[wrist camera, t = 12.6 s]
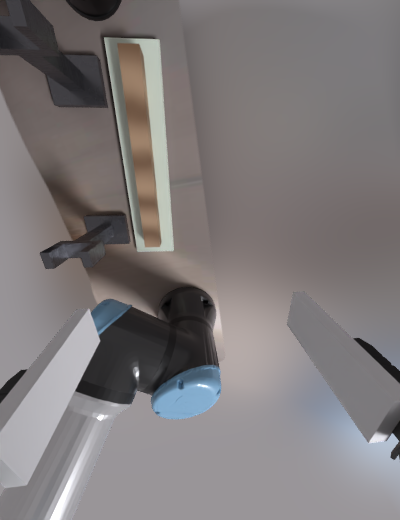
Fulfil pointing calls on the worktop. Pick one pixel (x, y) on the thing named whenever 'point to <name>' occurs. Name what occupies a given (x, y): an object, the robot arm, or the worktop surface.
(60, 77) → the rack
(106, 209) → the worktop surface
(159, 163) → the board
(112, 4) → the french press
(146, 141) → the rail
